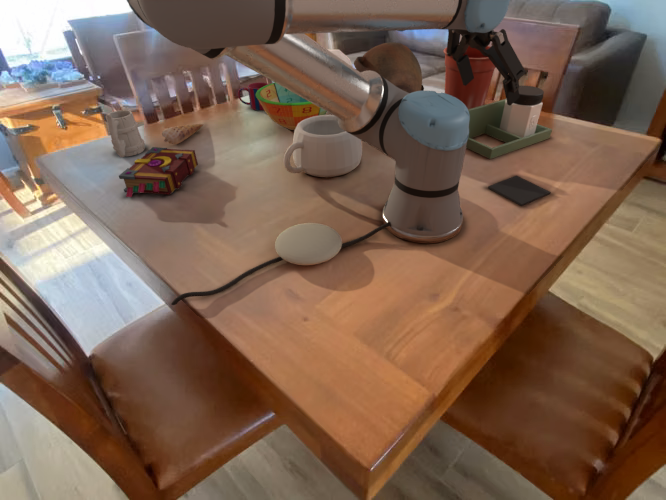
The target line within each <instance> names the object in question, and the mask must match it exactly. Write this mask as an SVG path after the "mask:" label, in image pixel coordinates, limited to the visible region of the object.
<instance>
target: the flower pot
mask: <svg viewBox="0 0 666 500" xmlns="http://www.w3.org/2000/svg"><path fill="white" fill-rule="evenodd" d="M490 47H491V46H489V45H488V46H487V47H486V49H487V50H488V49H489V48H490ZM466 51H467V52H466V53H465V54H466V55H468V57H469V61H470V64H471V68H472V72H473V75H474V79H473V80H472V81H471V82H469V83H468V84H467V85H466V86H464V85H463V82H462V79H461V76H460V72H459V69H458V66H457V64H456V61H454V60H453V56H450V57H449V56H448V55H447V47H445V48H444V49H443V54H444V66H445V77H444V93H446V94H449V95H451V96H453V97H455V98H457V99H459V100H460V101H462V102H463V103H464V104H465V106H466V107H467V109H471V108H475V107H479V106H482V105H485V103H486V99H487V96H488V93H489V89H490V85H491V82H492V78H493V75H494V71H495V69H497V68H496V67H495V66H494V64H493V63H492V62H491V60H490V59H489V58H488V57H487V56H484V55H483V54H482V53H481V52H480V50H477V49H476V48H471V47H470V46H469V47H468V48H467V50H466ZM465 54H463V56H464V55H465Z"/></svg>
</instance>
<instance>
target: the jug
mask: <svg viewBox="0 0 666 500" xmlns="http://www.w3.org/2000/svg"><path fill="white" fill-rule="evenodd" d="M353 65H354V66H353V67H354V68H355V69H356V70H358V71H359V72H363V71H369V70H370V71H375V72H376V73H378V74H379V75H381V76H382V77H384V78H385V79H386V80H388V81H389V82H391V83H392V84H393V85H395V86H396V87H398V88H400V89H401V90H403V91H405V92H407V93H412V92H416V91H425V86H424V84H423V72H422V68H421V64H420V62H419V60H418V58H417V57H416V55H415V54H414V52H413V51H412V50H411V49H410V48H409V47H408V46H406V45H404V44H403V43H401V42H396V41H395V42H393V41H391V42H383V43H381V44H378V45H376V46H374V47H372V48H370V49H369V50H367V51H366V52H365V53H364V54H363V55H362V56H356V58H355V60H354V61H353Z"/></svg>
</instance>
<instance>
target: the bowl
mask: <svg viewBox="0 0 666 500" xmlns="http://www.w3.org/2000/svg"><path fill="white" fill-rule="evenodd" d="M256 98H257V99H258V100H259V102H260V104H261V105H262V107H263V109H264V110H263V111H264V112H265V113H266V115H267V116H268V117H269V119H271V120H272V121H273V122H274V123H275V124H278V125H279V126H281V127H283V128H286V129H288V130H291V131H295V129H296V127H297V125H298V123H300V122H301V121H302V120H305V119H307V118H310V117H313V116H319V115H327V113H328V112H327V111H325V110H324V109H322V108H320V107H318V106H316V105H315V104H313V103H311V102H309V101H307V100H306V99H304V98H302V97H300V96H298V95H297V94H295V93H293V92H291V91H289V90H288V89H286V88H284V87H282V86H281V85H279V84H277V83H275V82H272V83H268V85H266V86H263V87H262V88H260V89H259V90H258V91H257V92H256Z"/></svg>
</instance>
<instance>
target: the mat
mask: <svg viewBox="0 0 666 500" xmlns="http://www.w3.org/2000/svg"><path fill="white" fill-rule="evenodd" d="M487 189H488V190H491V191H493V192H494V193H496V194H498V195H499V196H502V197H504V198H505V199H507V200H508V201H511V202H513V203H514V204H517V205H519V206H520V207H523V206H525V205H528V204H531V203H533V202H534V201H535V202H536V201H537V200H540V199H542V198H544V197H546V196H548V195H550V194H552V193H551V191H550V190H548V189H546V188H544V187H541V186H539V185H537V184H535V183H534V182H532V181H529V180H526V179H524V178H523V177H521V176H518V175H514V176H511V177H509V178H506V179H503V180H501V181H497V182H495V183H493V184H490V185H488V186H487Z"/></svg>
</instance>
